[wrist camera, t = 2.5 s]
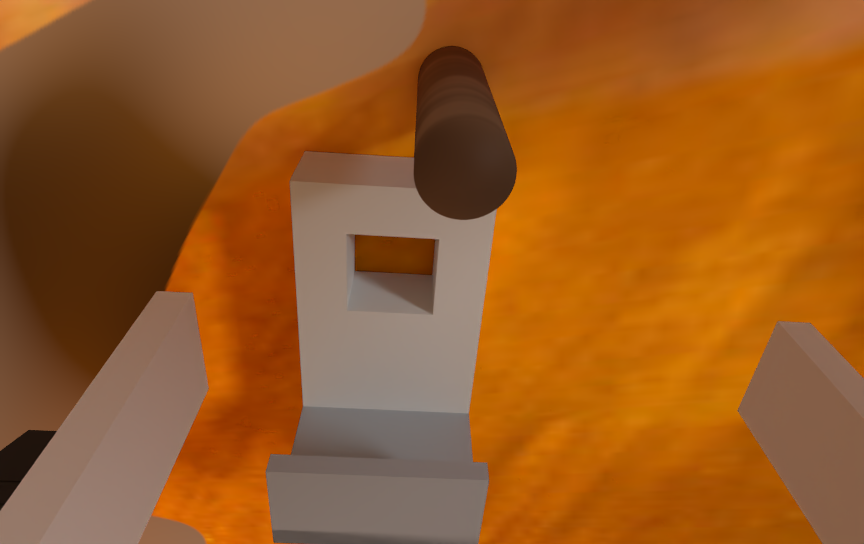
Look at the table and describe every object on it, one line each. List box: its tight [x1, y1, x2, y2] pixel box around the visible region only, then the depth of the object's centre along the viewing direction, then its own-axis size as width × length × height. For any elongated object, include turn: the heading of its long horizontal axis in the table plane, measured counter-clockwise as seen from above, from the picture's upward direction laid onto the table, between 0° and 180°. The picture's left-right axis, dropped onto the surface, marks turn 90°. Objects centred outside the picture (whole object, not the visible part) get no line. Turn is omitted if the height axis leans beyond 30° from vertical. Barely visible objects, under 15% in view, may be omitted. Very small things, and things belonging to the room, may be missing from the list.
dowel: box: [414, 46, 517, 220], centre depth 29 cm, size 4×4×15 cm
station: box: [266, 151, 496, 544], centre depth 37 cm, size 19×12×15 cm, turn 176°
